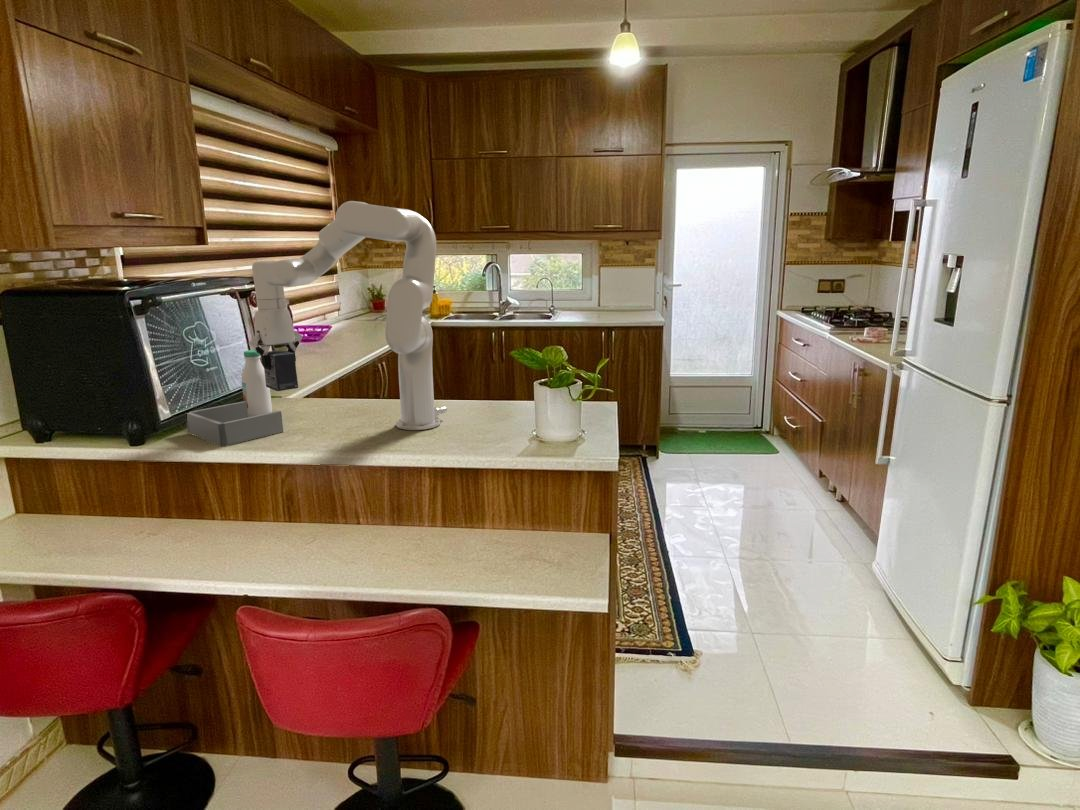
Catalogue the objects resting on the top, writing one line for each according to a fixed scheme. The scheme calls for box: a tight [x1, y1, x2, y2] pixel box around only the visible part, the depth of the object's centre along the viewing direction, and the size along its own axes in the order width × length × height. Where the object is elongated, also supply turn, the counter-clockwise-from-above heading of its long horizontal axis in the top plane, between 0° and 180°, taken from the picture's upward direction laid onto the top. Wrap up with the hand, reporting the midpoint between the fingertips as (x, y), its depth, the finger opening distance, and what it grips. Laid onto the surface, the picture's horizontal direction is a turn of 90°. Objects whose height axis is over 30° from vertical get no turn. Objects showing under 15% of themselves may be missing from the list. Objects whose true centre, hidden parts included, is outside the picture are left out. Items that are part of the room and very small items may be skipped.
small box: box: [264, 349, 299, 392], centre depth 194 cm, size 11×6×10 cm, turn 40°
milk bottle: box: [241, 349, 273, 417], centre depth 204 cm, size 8×8×20 cm
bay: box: [185, 400, 284, 447], centre depth 186 cm, size 17×20×6 cm
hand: (279, 366), depth 194 cm, fingers closed on small box, 7 cm apart
